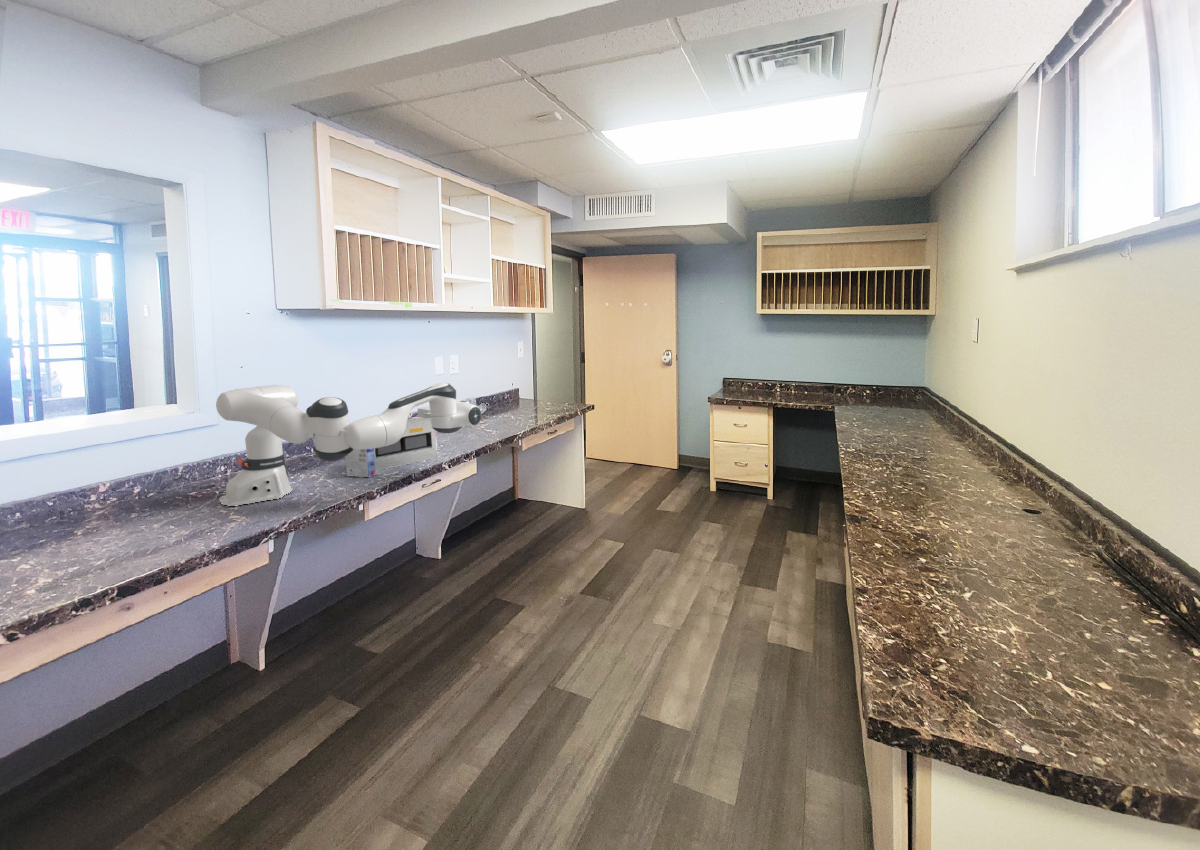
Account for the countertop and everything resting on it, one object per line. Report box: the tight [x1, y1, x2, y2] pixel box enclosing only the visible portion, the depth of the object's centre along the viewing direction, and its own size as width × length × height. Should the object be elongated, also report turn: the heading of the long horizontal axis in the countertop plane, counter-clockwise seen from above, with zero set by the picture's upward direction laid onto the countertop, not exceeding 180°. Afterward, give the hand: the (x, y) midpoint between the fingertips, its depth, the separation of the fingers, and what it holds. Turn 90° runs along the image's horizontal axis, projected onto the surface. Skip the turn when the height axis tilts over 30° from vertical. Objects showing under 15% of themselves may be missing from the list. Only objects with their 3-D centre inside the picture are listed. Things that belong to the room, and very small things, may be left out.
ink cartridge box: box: [345, 449, 377, 478], centre depth 227 cm, size 10×6×14 cm, turn 79°
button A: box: [375, 440, 401, 455], centre depth 240 cm, size 10×5×5 cm, turn 137°
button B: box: [400, 434, 427, 450], centre depth 249 cm, size 10×5×5 cm, turn 137°
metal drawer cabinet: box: [374, 417, 438, 472], centre depth 245 cm, size 30×9×18 cm, turn 137°
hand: (432, 408), depth 234 cm, fingers closed
